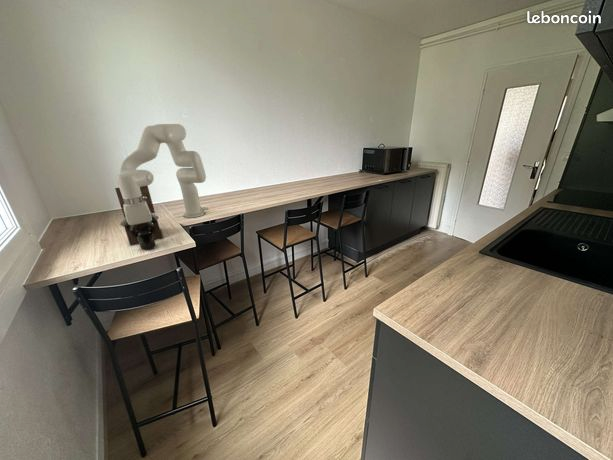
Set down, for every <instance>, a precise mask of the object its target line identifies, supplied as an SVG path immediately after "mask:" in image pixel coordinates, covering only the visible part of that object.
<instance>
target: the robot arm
mask: <svg viewBox="0 0 613 460" xmlns="http://www.w3.org/2000/svg"><path fill="white" fill-rule="evenodd" d="M142 131H143V132H142V134H141V136H140V140H139V143H138V146H137V148H136V149H135V150H134V151H132V152H131V153H130V154H129V155H128V156H127V157H126V158H125V159H124V160H123V161H122V163H121V166H120V168H119V172H118V174H117V175H116V177H115V179H116V182H117V185H118V188H120V191H121V194H122V197H123V200H124V203H125V204H123V207H124V212H125V216H126V217H125V218H123V219H122V220H121V221H120V223H119V224H120V226H121V227H123V228H124V229H125V228H127V229H129V230H131V232H132V235H133V236H135V238H136V237H137V236H136V232H135V229H134V228H133V227H134V225H136V224H141V223H146V222H148V223H149V224H150V227H151V230H152V233H153V234H154V231H155V229H154V224H155V223H156V221H158V220H159V218H160V216H159V215H157V214H156V213H150V210H149V207H148V205H147V203H146V201H143V200H144V199H146V196H142V194H141V191H140V187H142V186H149V185H151V184H153V182H154V180H155V179H154V178H155V177H154V174H153V173H152V172H151V171H149V170H147V169H138V167H140V166H142V165H143V164H146V163H148V162H151V161H153V160H154V159H156V158H157V156H158V153H159V150H160V146H161V144H166V146H167V148H168V150H169V153H170V155H171V158H172V160H173V162H174V164H175V166H176V167H179V168H178V169H177V170H176V172H175V173H176V174H175V175H176V179H177V182H178V183H179V186H180V190H181V194H182V199H183V204H184V208H185V212H184V214H183V216H184V217H185V218H189V219H191V218H198V217H201V216H204V215H205V211H209V207H208V206H207V207H206V206H203V207H202V205H201V202H200V201H201V200H200V195H199V191H198V188H197V185H196V184H203V183H204V182H206V180H207V176H206V175H207V173H206V170H205V167H204V164H203V161H202V157H201V155H200V153H199V152H197V151H195V150H187V149H186V147H185V144H184V142H183V141H184V140H185V139H186V137H187V131H186V128H185V127H184V126H183V125H182V124H180V123H157V124H154V125H147V126H145V127H144V129H143V130H142ZM155 214H156V215H155ZM152 217H154V220H153V221H151V220H152ZM126 221H127V223H128V224H129V225H130V226H129V225H126V224H125V223H126Z"/></svg>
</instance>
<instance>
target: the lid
mask: <svg viewBox="0 0 613 460" xmlns="http://www.w3.org/2000/svg"><path fill="white" fill-rule="evenodd" d="M148 186H149V185H148ZM148 186H142V187H140V191H141V194H142V196H146V199H144V200H143V201H146V203H147V205H148V207H149V210H150V213H153V214H156V211H155V207H154V204H153V201H152V197H151V193H150V189H149V187H148ZM114 190H115V192H116V195H117V199H118V203H119V206H120V209H121V212H122V215H123V219H125V217H126V216H125V212H124V207H123V204H125V203H124V200H123V197H122V194H121V191H120V188H119V187H115V188H114Z"/></svg>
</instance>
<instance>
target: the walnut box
mask: <svg viewBox="0 0 613 460" xmlns="http://www.w3.org/2000/svg"><path fill="white" fill-rule="evenodd" d="M154 214H155V215H157V214H156V213H154ZM153 220H154V217H152V220H151V221H153ZM125 224H126V225H129V224H128V223H127V221H126V223H125ZM141 224H147V225H148V227H149V229H151V227H150V224H149V223H148V222H146V223H141ZM137 225H140V224H136V225H134V227H133V228H134V229H135V232H137V231H138V230H137V228H136V226H137ZM129 226H130V225H129ZM154 229H155V231H154V234H153V236H154V240H155V241H158V240H162V239H163V236H162V232H161V229H160V225H159V221H158V220H157V221H156V223H155V224H154ZM124 230H125V233H126V236H127V240H128V242H129V246H134V245H139V242H138V239H137V237H136V238H135V236H133V235H132V232H131V230H129V229H127V228H125V227H124Z"/></svg>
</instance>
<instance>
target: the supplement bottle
mask: <svg viewBox="0 0 613 460" xmlns="http://www.w3.org/2000/svg"><path fill="white" fill-rule="evenodd" d="M136 228H137V230H138V231H137V232H136V236H137V239H138V242H139V244H138V245H139V247H140V249H141V250H143V251H146V250H147V251H148V250H152V249H153V248H155V247H156V246H157V243H156V240H154V236H153V233H152V230H151V229H149V227H148V225H147V224H140V225H137V226H136Z"/></svg>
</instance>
